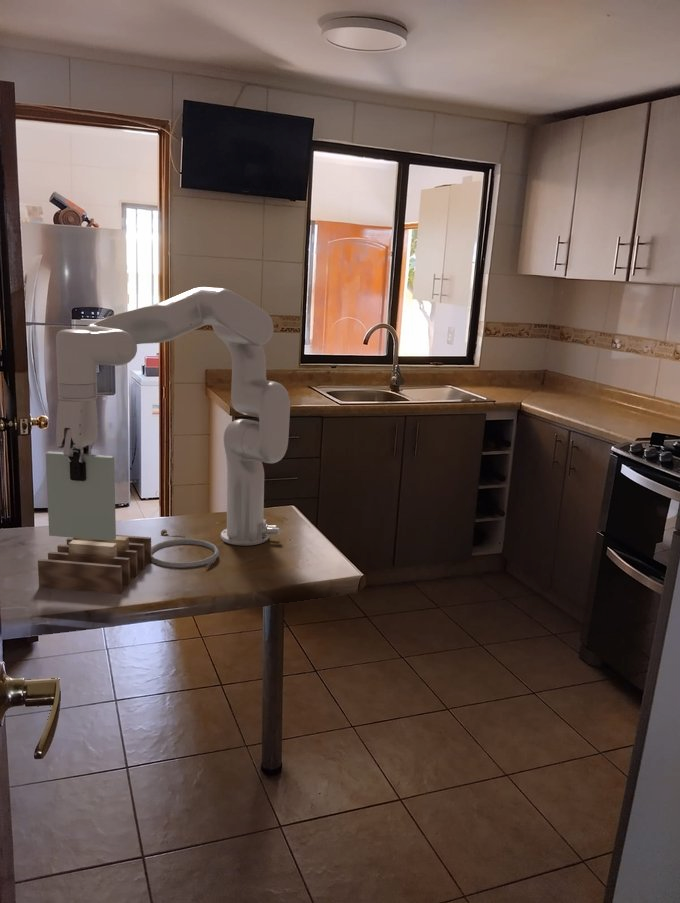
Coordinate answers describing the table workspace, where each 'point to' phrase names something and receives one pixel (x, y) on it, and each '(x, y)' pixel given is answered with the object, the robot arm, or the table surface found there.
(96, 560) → the rack
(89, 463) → the tall sheet
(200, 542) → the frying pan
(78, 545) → the offcut light
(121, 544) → the offcut dark
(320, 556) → the table surface
